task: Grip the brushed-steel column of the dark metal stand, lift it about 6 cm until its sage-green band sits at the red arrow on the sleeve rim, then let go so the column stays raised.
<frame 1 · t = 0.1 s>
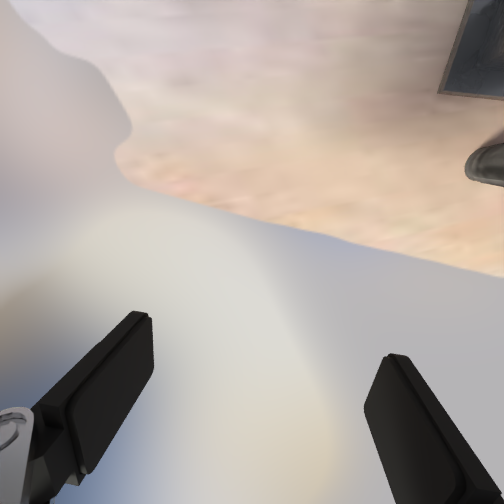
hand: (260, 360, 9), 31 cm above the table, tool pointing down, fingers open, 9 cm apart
beverage cup: (481, 164, 33), on the table
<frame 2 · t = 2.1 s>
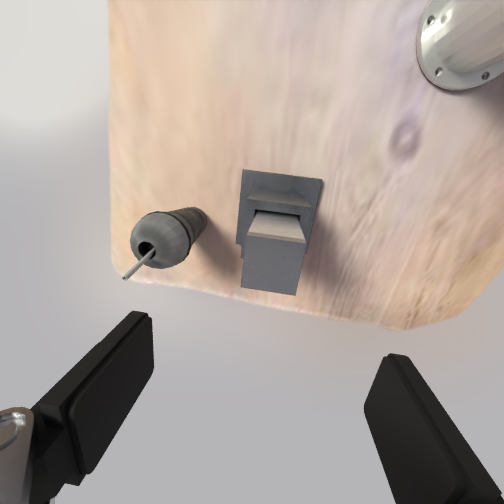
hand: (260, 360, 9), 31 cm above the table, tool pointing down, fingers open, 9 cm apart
column: (274, 231, 27), point 12 cm above the table, slide at 0.0 cm
beverage cup: (194, 219, 40), on the table
stand: (276, 212, 38), on the table
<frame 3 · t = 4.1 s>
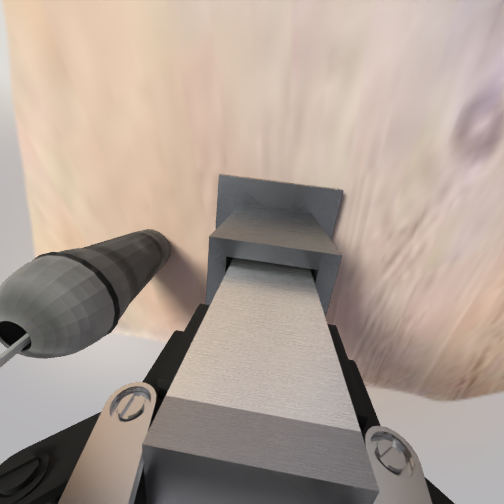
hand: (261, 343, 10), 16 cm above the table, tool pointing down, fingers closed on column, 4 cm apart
column: (266, 291, 15), point 12 cm above the table, slide at 0.0 cm, touching gripper
beverage cup: (152, 247, 28), on the table
stand: (271, 238, 26), on the table
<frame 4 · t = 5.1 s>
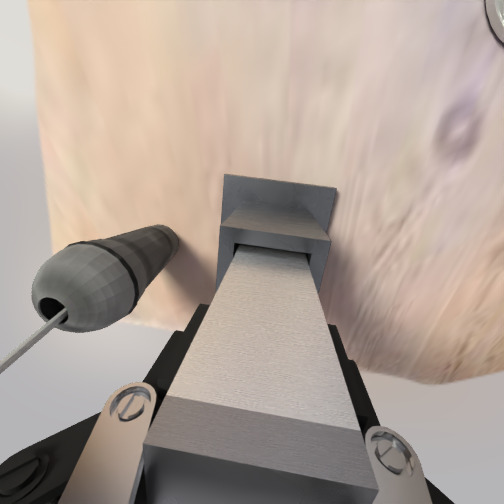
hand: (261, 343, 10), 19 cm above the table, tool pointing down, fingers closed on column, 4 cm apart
column: (266, 291, 15), point 14 cm above the table, slide at 2.5 cm, touching gripper
beverage cup: (162, 241, 30), on the table
stand: (271, 232, 28), on the table
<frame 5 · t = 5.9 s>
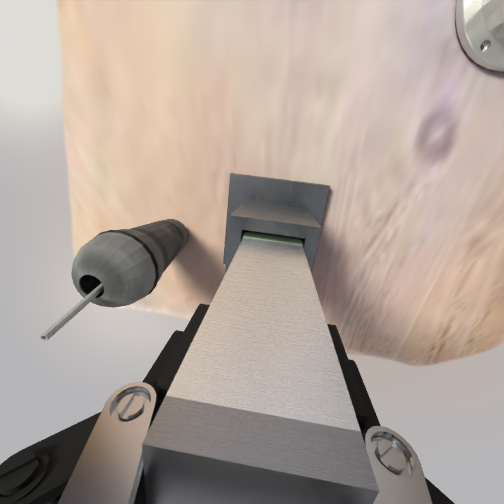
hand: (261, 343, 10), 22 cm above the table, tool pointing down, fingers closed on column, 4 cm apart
column: (266, 291, 15), point 18 cm above the table, slide at 5.9 cm, touching gripper
beverage cup: (173, 234, 33), on the table
stand: (272, 225, 31), on the table
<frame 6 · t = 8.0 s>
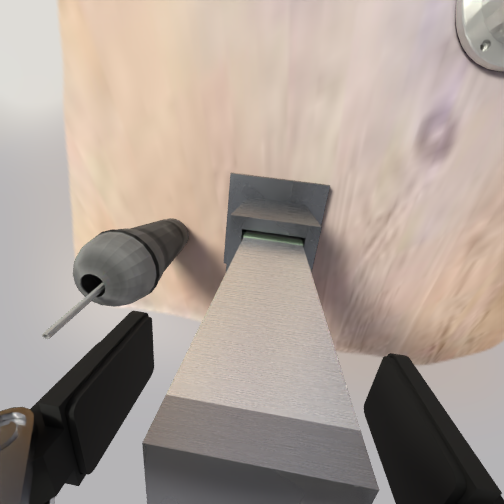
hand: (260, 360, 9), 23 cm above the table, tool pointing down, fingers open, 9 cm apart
column: (266, 291, 15), point 18 cm above the table, slide at 6.0 cm
beverage cup: (173, 233, 33), on the table
stand: (272, 225, 31), on the table
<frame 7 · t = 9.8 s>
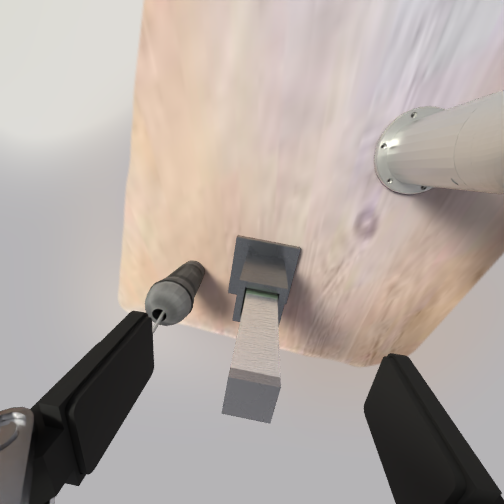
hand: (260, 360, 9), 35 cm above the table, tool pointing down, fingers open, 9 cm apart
column: (257, 325, 30), point 18 cm above the table, slide at 6.0 cm
beverage cup: (194, 270, 48), on the table
stand: (262, 269, 46), on the table
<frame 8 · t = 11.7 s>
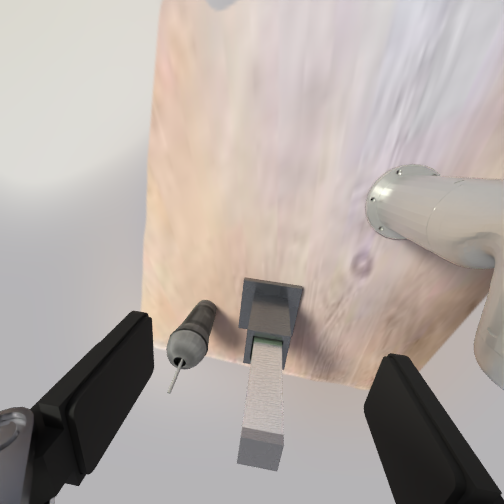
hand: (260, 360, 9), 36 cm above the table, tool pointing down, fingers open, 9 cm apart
column: (264, 373, 34), point 18 cm above the table, slide at 6.0 cm
beverage cup: (206, 308, 53), on the table
stand: (269, 306, 51), on the table
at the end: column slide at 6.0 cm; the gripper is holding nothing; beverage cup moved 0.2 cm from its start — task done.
